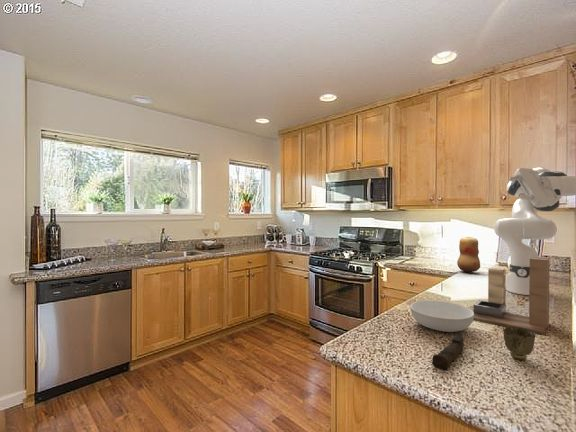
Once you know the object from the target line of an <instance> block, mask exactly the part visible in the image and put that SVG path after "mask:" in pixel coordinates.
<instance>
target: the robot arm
mask: <svg viewBox="0 0 576 432" xmlns="http://www.w3.org/2000/svg"><path fill="white" fill-rule="evenodd" d="M508 180H509V182H508V183H507V186H506V192H507V194H509V195H510V196H513V197H514V196H515V197H517V198H518V199H516V201H515V202H514V203H513V205H512V209H511V217H508V218H507V217H506V218H501V219H500V218H499V219H498V220H497V221H495V223H494V226H493V229H494V233H495V235H496V236H498V237H499V238H501V239H502V240H503V241H504V242H505V244H506V245H507V246H508V249H509V255H510V256H509V257H510V264H509V272H508V273H506V291H507V292H510V293H513V294H517V295H518V294H519V295H523V296H524V295H525V296H526V295H527V296H529V280H530V258H531V257H532V256H534V257H538V252H537V250H536V249H535V248H533V247H532V246H529V245H527V244H525V243H523V241H522V240H539V241H540V240H548V239H549V240H550V239H553V238H554V237H555V235H556V234H557V232H558V231H557V229H558V227H557V225H556V223H555V222H554V221H553V220H552V219H548V218H545V217H543V216H541V215H538V213H537V211H540V212H553V211H555V210H556V209H558V208H559V207H560V199H562V198H563V197H572V196H576V176H574V175H567V174H566V173H565V172H563V171H551V170H550V169H548V168H546V167H535V168H528V167H527V168H525V167H521V168H517V170H516V171H515V172H514V175H513V176H510V177H509V178H508Z"/></svg>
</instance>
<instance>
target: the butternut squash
mask: <svg viewBox="0 0 576 432" xmlns="http://www.w3.org/2000/svg"><path fill="white" fill-rule="evenodd" d="M458 244H459V245H458V246H459V249H458V250H459V257H458V259H457V261H456V263H457V267H458V268H459V270H461V271H463V272H465V273H468V274H469V273H473V272H474V273H475V272H477V271H478V270H479V269H480V268H481V260H480V258H479V253H480V252H479V241H478V239H477V238H476V237H474V236H464V237H461V238H460V239H459V243H458Z"/></svg>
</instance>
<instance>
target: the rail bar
mask: <svg viewBox="0 0 576 432" xmlns="http://www.w3.org/2000/svg"><path fill="white" fill-rule="evenodd" d="M506 272H507V269H506V268H502V267H494V266H493V267H490V268H488V272H487V273H488V277H487V278H488V279H487V282H488V283H487V285H488V286H487V287H488V288H487V289H488V290H487V293H488V294H487V295H488V299H487V301H488V302H494V303H500V304H506V301H507V300H506V299H507V298H506V296H507V295H506V294H507V292H506V291H507V290H506V274H507V273H506ZM506 305H507V304H506Z"/></svg>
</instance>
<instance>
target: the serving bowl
mask: <svg viewBox="0 0 576 432" xmlns="http://www.w3.org/2000/svg"><path fill="white" fill-rule="evenodd" d="M409 307H410V312H411V315H412V317H413V319H414V320H415V321H416V322H417V323H419V324H420V325H422V326H424V327H426V328H428V329H431V330H435V331H439V332H445V333H446V332H447V333H453V332H460V331H464V330H467V329H468V328H469V327H470V326H471V325H472V323H473V322H474V320H473V319H474V312H473V311H472V310H471V309H469V307H466V306H465V305H460V304H458V303H454V302H449V301H443V300H432V299H431V300H424V299H423V300H417V301H414V302H411V304H409Z"/></svg>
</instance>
